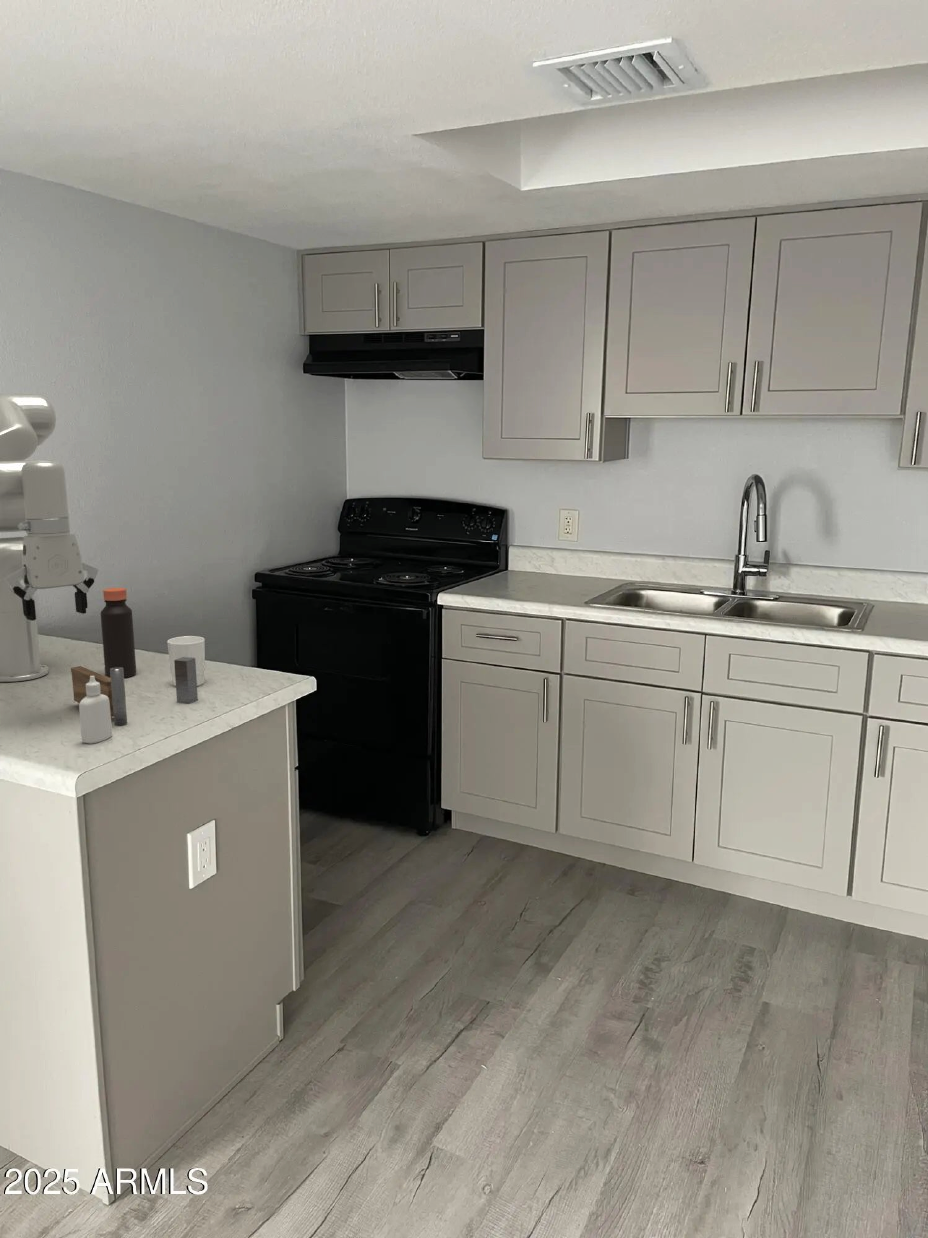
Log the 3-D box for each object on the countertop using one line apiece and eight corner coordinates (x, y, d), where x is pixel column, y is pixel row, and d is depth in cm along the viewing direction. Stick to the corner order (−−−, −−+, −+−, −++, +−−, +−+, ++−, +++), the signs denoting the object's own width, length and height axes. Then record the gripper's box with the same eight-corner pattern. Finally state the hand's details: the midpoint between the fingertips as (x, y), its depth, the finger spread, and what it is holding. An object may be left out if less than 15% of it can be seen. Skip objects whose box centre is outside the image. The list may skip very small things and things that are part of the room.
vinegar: (99, 678, 219) (92, 591, 215) (114, 670, 225) (108, 586, 221) (127, 679, 218) (121, 592, 214) (142, 672, 224) (136, 587, 220)
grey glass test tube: (111, 725, 185) (107, 669, 183) (119, 721, 187) (115, 666, 185) (121, 726, 184) (117, 670, 182) (130, 722, 187) (125, 667, 184)
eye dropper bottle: (78, 739, 177) (72, 676, 175) (109, 733, 180) (104, 671, 178) (84, 745, 174) (78, 681, 171) (116, 739, 177) (111, 676, 174)
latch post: (176, 702, 200) (174, 660, 198) (185, 698, 203) (183, 656, 201) (189, 703, 199) (186, 661, 197) (197, 699, 202) (195, 657, 200)
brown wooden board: (109, 717, 187) (106, 682, 185) (73, 700, 198) (70, 667, 196) (119, 715, 188) (116, 680, 187) (83, 698, 199) (80, 666, 198)
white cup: (196, 689, 210) (194, 644, 208) (163, 687, 211) (160, 643, 209) (213, 680, 217) (210, 636, 215) (180, 678, 219) (178, 635, 217)
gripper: (8, 532, 174) (18, 625, 177) (101, 525, 186) (108, 612, 189) (-7, 529, 179) (2, 620, 183) (84, 523, 191) (91, 608, 195)
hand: (56, 616), depth 186 cm, fingers open, 9 cm apart
